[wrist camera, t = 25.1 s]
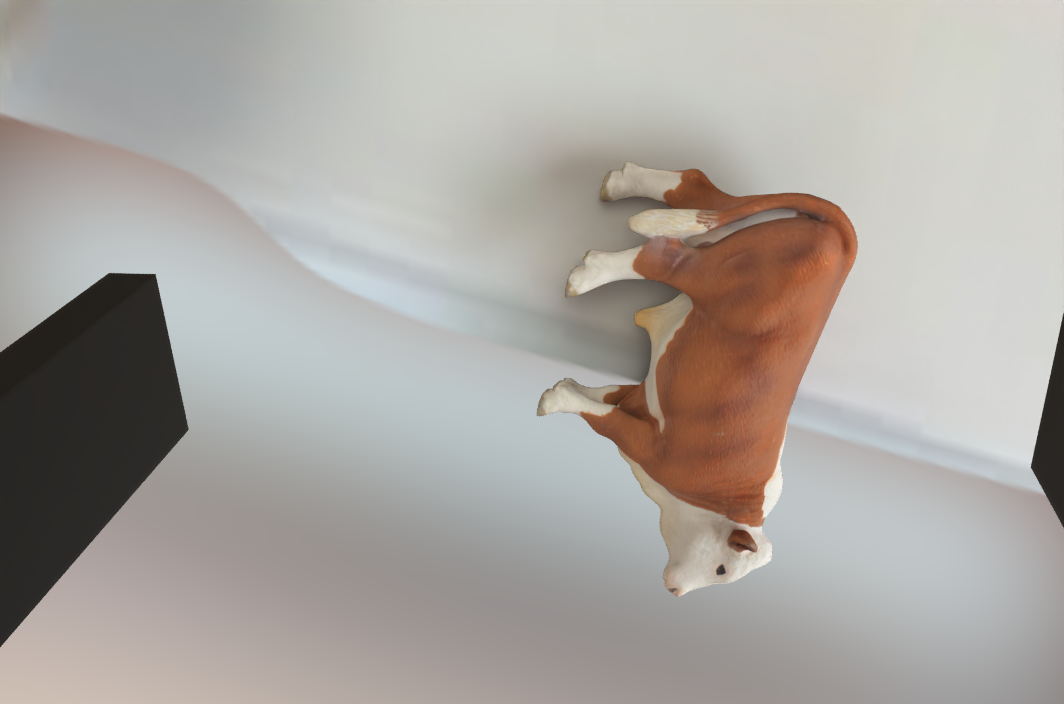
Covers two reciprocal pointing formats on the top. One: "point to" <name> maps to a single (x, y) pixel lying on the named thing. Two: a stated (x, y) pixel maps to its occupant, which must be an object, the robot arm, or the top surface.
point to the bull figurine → (713, 357)
